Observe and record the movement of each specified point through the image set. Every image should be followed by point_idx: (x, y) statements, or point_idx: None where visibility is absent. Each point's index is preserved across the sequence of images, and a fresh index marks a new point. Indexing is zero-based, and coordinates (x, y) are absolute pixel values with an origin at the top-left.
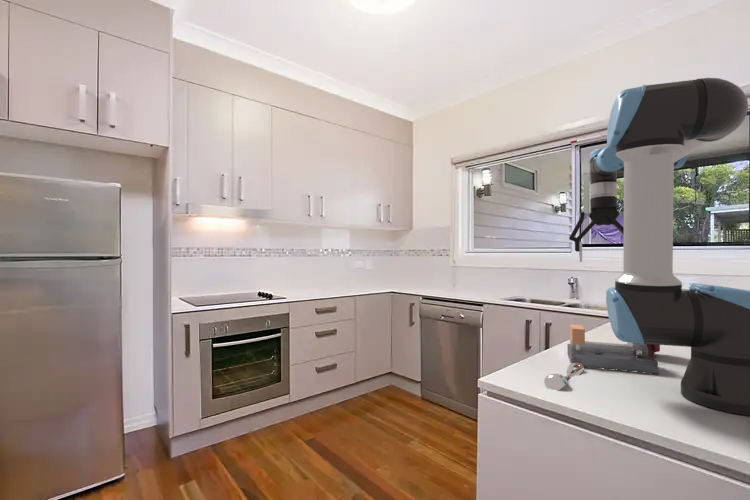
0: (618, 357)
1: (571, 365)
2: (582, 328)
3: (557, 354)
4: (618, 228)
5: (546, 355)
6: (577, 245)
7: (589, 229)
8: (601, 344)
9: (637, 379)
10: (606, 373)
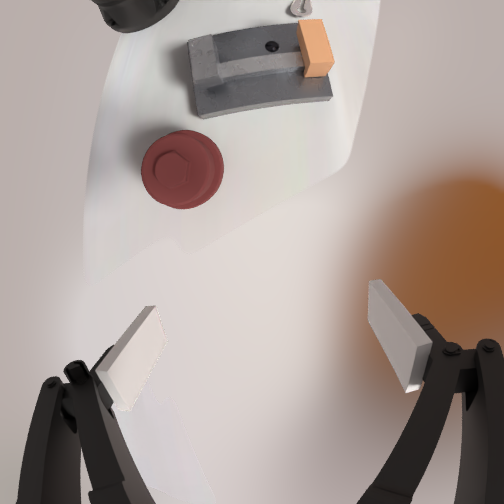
0: (241, 36)
1: (308, 11)
2: (304, 28)
3: (343, 90)
4: (118, 460)
5: (358, 76)
6: (429, 336)
7: (397, 449)
8: (268, 55)
9: (221, 13)
10: (260, 18)
